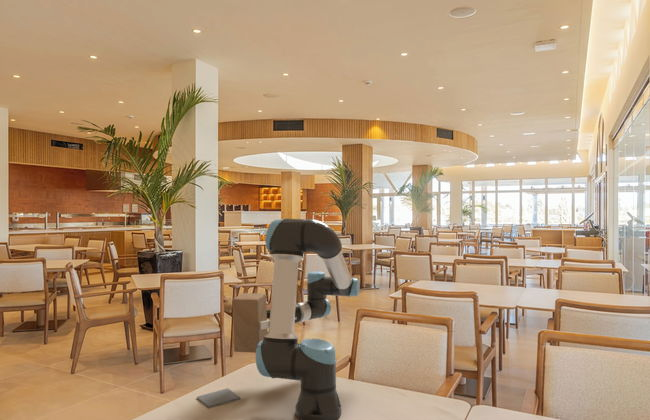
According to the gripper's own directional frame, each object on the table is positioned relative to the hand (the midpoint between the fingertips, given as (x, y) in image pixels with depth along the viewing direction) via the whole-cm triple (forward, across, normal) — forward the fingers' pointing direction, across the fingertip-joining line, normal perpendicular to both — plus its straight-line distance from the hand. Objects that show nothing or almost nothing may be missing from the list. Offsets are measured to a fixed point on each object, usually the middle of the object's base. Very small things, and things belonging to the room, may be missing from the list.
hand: (251, 322), depth 178 cm
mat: (+16, -4, -24) cm, 29 cm away
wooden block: (0, 0, -10) cm, 10 cm away
